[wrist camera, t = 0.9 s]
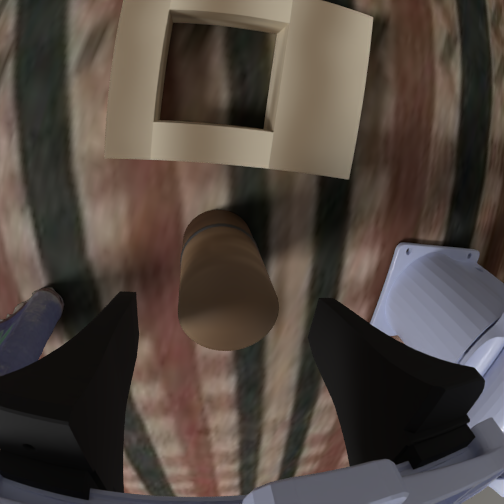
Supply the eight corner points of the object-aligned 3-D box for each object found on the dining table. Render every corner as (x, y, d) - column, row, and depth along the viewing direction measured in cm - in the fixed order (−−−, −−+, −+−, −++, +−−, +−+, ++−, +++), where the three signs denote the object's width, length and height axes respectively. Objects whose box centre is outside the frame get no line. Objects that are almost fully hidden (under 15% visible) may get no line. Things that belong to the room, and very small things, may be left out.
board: (352, 25, 14) (373, 17, 12) (330, 169, 18) (348, 179, 16) (137, -5, 12) (128, -21, 10) (116, 151, 16) (104, 158, 13)
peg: (256, 211, 18) (288, 269, 12) (247, 274, 20) (270, 351, 14) (184, 206, 18) (177, 264, 11) (181, 271, 19) (176, 350, 13)
